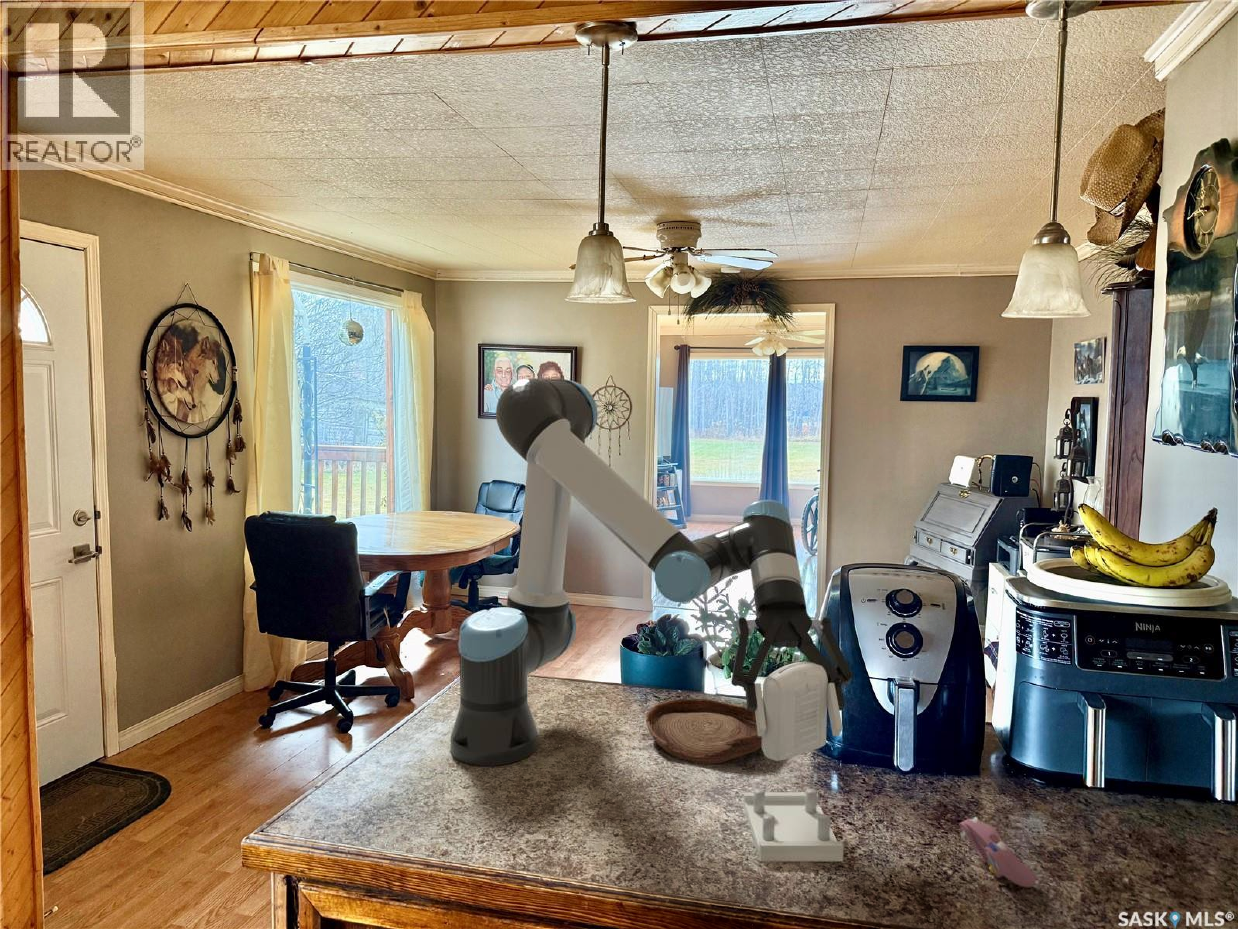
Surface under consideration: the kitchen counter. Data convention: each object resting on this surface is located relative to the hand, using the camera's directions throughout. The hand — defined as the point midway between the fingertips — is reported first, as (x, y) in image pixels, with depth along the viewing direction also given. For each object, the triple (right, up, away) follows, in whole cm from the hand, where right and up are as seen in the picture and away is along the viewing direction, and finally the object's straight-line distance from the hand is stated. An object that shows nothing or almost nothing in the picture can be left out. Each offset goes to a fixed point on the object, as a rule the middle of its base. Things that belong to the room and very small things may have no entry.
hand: (800, 732), depth 107 cm
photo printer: (0, -4, +4) cm, 5 cm away
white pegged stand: (0, -16, +5) cm, 16 cm away
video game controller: (+25, -17, -4) cm, 30 cm away
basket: (-9, -13, +35) cm, 38 cm away
